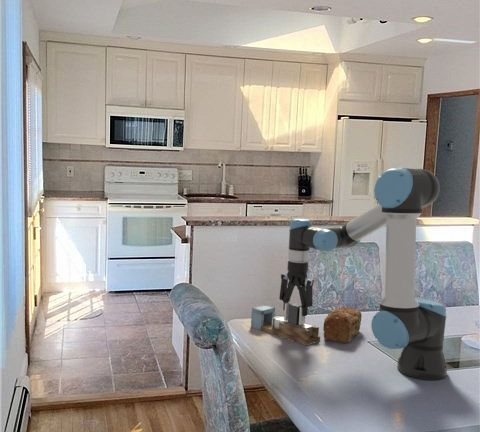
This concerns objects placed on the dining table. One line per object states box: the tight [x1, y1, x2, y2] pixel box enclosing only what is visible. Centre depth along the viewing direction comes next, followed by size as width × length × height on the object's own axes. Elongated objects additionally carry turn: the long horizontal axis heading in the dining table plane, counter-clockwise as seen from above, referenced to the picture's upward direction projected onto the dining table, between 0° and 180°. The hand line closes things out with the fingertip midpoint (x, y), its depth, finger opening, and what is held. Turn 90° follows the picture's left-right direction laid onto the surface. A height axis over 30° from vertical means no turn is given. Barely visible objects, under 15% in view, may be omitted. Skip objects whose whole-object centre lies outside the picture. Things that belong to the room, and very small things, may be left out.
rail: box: [260, 321, 321, 346], centre depth 212 cm, size 27×8×5 cm, turn 47°
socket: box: [250, 304, 276, 331], centre depth 219 cm, size 5×8×8 cm, turn 137°
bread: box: [322, 306, 362, 344], centre depth 213 cm, size 19×11×10 cm, turn 154°
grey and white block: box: [272, 302, 314, 337], centre depth 209 cm, size 16×4×11 cm, turn 47°
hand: (294, 321), depth 208 cm, fingers open, 6 cm apart
